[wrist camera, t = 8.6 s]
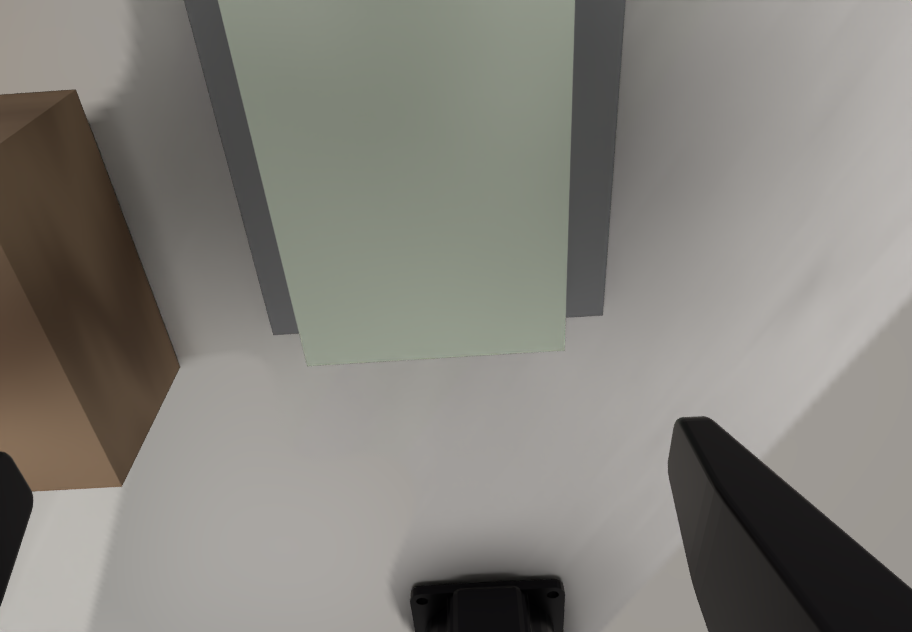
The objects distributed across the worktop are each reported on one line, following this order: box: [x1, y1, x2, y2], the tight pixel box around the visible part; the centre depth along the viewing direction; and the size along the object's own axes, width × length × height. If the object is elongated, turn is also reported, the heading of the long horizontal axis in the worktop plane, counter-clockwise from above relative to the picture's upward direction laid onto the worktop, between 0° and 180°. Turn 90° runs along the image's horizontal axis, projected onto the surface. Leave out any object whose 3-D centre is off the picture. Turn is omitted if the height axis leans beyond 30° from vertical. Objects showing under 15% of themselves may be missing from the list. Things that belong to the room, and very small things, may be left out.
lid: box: [218, 0, 575, 366], centre depth 17 cm, size 11×7×2 cm, turn 4°
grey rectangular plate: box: [184, 0, 626, 335], centre depth 18 cm, size 12×10×1 cm
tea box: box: [0, 90, 180, 491], centre depth 18 cm, size 9×5×5 cm, turn 4°
